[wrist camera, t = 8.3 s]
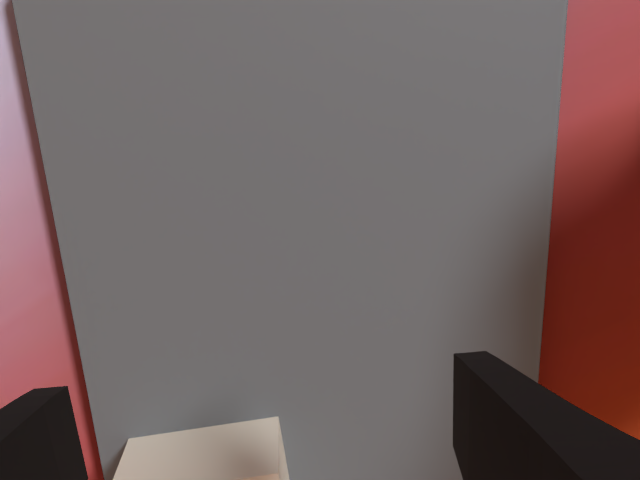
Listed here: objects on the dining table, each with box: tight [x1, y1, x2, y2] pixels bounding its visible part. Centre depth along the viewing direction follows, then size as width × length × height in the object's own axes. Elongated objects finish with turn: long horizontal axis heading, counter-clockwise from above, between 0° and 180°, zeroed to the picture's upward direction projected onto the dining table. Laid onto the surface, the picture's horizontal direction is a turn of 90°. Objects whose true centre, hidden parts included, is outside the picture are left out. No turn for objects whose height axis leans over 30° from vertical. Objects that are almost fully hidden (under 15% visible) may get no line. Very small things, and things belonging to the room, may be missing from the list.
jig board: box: [12, 0, 568, 480], centre depth 21 cm, size 16×23×1 cm
